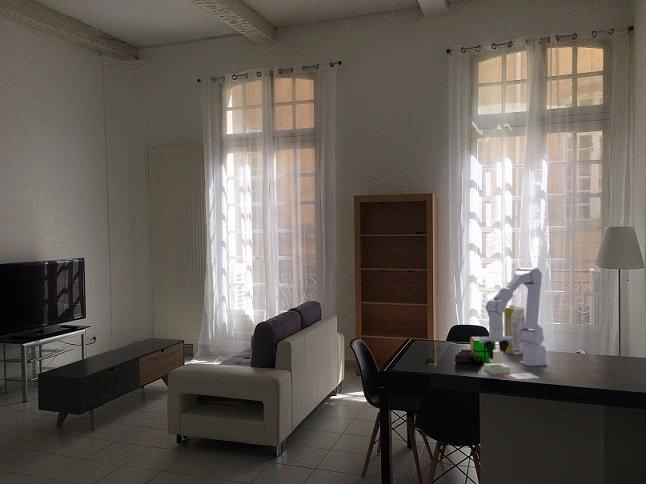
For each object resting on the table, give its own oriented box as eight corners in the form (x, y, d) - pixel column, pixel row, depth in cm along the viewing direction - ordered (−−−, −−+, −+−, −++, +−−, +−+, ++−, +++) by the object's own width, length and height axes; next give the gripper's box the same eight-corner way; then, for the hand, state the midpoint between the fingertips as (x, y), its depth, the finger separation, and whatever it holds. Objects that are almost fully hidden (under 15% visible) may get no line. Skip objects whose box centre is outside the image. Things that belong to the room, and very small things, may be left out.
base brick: (501, 369, 237) (501, 362, 237) (510, 374, 229) (509, 367, 229) (484, 370, 236) (484, 363, 236) (492, 375, 228) (492, 368, 228)
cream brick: (499, 360, 235) (498, 349, 235) (503, 363, 231) (503, 351, 231) (489, 361, 235) (489, 350, 235) (493, 363, 230) (493, 352, 230)
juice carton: (514, 350, 273) (513, 303, 273) (527, 353, 267) (526, 305, 267) (502, 353, 268) (501, 305, 268) (515, 355, 262) (514, 306, 261)
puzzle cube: (491, 357, 260) (491, 336, 260) (496, 361, 250) (495, 340, 250) (470, 357, 261) (470, 336, 261) (474, 361, 251) (473, 340, 251)
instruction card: (529, 373, 228) (529, 372, 228) (540, 377, 220) (540, 377, 220) (507, 374, 227) (507, 374, 227) (517, 379, 219) (517, 378, 219)
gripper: (507, 325, 237) (508, 355, 237) (476, 326, 235) (476, 357, 235) (515, 327, 230) (515, 359, 230) (483, 329, 228) (483, 360, 228)
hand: (496, 358), depth 232 cm, fingers closed on cream brick, 4 cm apart
